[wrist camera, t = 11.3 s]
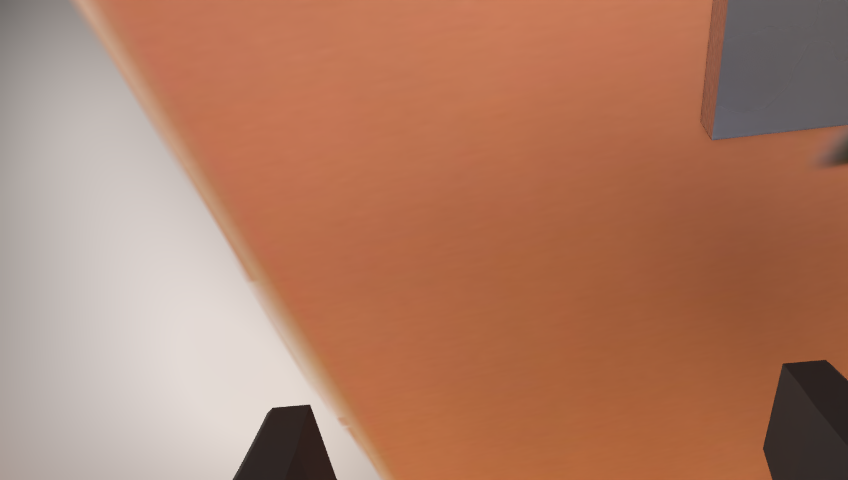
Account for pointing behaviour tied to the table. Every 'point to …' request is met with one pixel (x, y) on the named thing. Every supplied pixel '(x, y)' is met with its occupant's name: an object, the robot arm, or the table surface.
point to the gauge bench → (775, 67)
